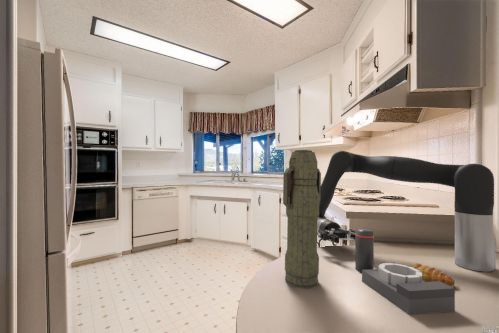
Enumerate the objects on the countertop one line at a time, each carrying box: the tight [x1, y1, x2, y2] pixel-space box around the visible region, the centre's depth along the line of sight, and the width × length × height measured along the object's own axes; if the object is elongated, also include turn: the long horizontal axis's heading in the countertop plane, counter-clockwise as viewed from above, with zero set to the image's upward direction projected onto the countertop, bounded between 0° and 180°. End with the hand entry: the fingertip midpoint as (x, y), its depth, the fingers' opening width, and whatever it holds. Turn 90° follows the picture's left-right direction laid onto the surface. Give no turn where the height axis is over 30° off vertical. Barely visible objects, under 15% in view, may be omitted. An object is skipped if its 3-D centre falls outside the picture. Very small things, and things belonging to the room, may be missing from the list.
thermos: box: [282, 149, 322, 289], centre depth 66 cm, size 9×12×35 cm
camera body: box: [361, 262, 456, 315], centre depth 59 cm, size 11×16×6 cm
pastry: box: [412, 263, 456, 288], centre depth 67 cm, size 9×7×4 cm
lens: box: [354, 228, 375, 274], centre depth 74 cm, size 5×5×12 cm
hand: (350, 240), depth 82 cm, fingers open, 8 cm apart
